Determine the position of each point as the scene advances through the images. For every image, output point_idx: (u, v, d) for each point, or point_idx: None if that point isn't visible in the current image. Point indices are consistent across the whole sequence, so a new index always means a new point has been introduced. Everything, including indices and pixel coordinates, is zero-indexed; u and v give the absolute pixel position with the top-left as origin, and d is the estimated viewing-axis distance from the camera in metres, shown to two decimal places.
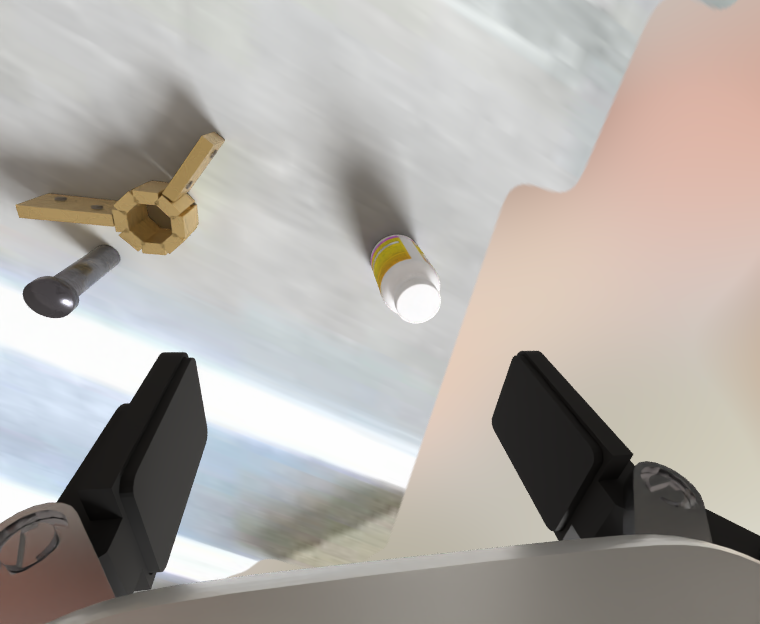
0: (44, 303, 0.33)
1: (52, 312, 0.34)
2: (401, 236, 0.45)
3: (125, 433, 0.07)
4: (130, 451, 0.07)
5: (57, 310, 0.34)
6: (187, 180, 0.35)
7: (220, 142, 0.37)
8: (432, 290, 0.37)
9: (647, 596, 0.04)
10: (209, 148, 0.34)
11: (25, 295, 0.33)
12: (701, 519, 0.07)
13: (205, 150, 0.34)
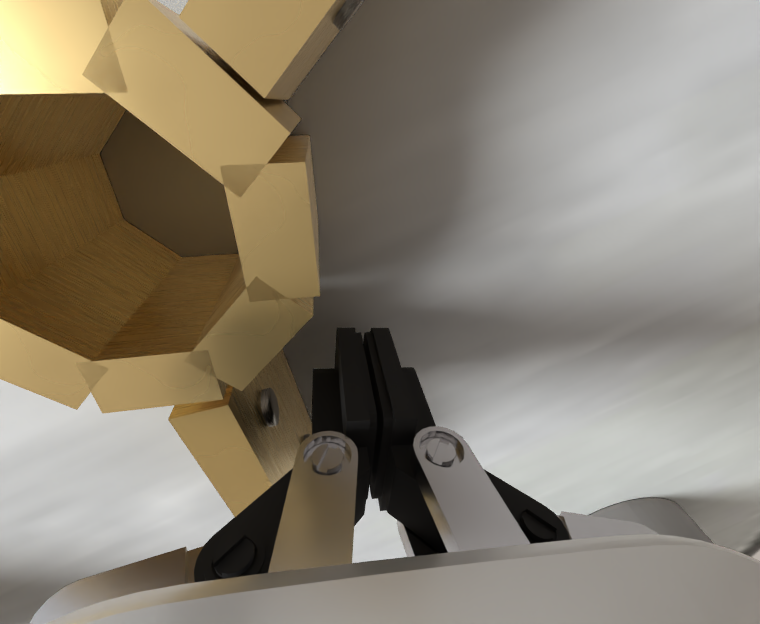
0: None
1: None
2: None
3: (353, 384, 0.09)
4: (366, 397, 0.08)
5: None
6: (225, 495, 0.09)
7: None
8: None
9: (647, 596, 0.04)
10: None
11: None
12: (474, 462, 0.07)
13: None
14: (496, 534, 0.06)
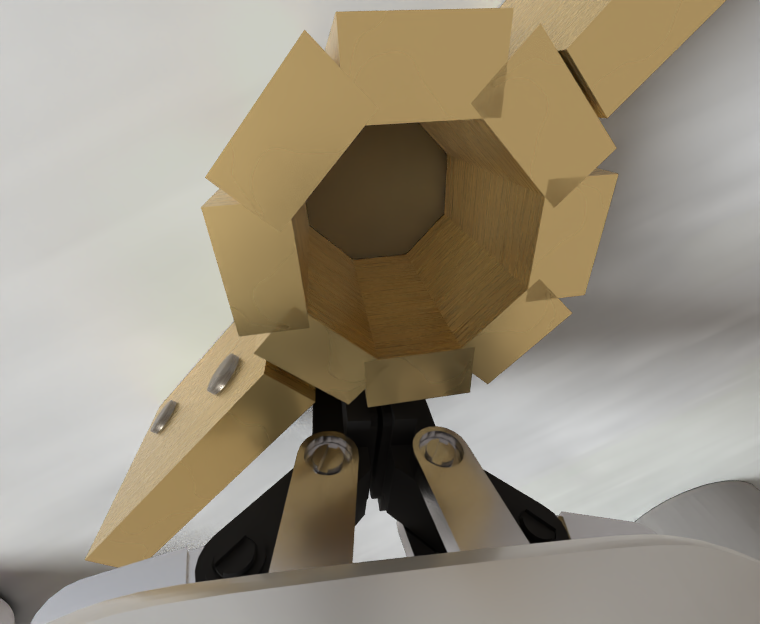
0: None
1: None
2: None
3: None
4: None
5: None
6: (190, 456, 0.07)
7: None
8: None
9: (647, 596, 0.04)
10: (100, 551, 0.09)
11: None
12: (473, 462, 0.07)
13: (116, 543, 0.09)
14: (496, 534, 0.06)
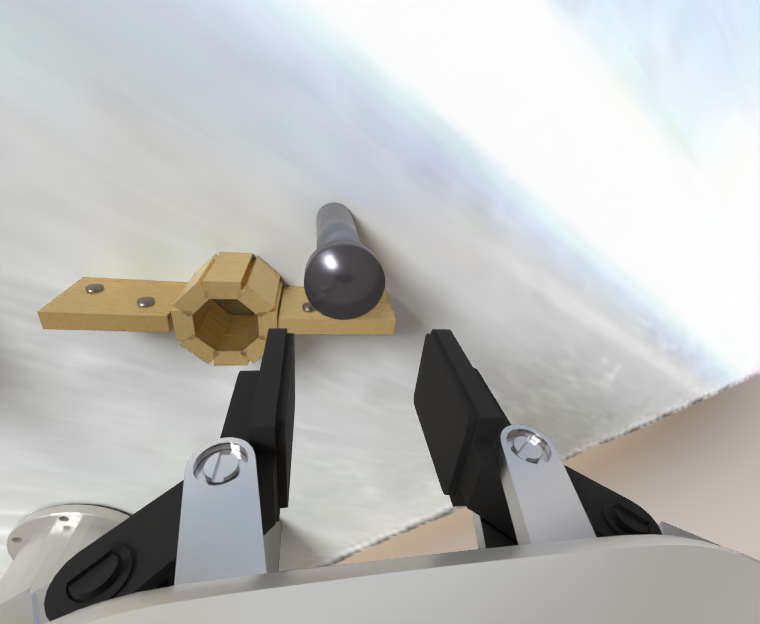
0: (354, 277, 0.17)
1: (346, 258, 0.17)
2: None
3: (267, 388, 0.08)
4: (277, 401, 0.08)
5: (336, 263, 0.17)
6: (120, 315, 0.23)
7: (66, 290, 0.24)
8: None
9: (647, 596, 0.04)
10: (47, 313, 0.22)
11: (379, 292, 0.18)
12: (559, 466, 0.08)
13: (56, 316, 0.22)
14: (568, 531, 0.06)
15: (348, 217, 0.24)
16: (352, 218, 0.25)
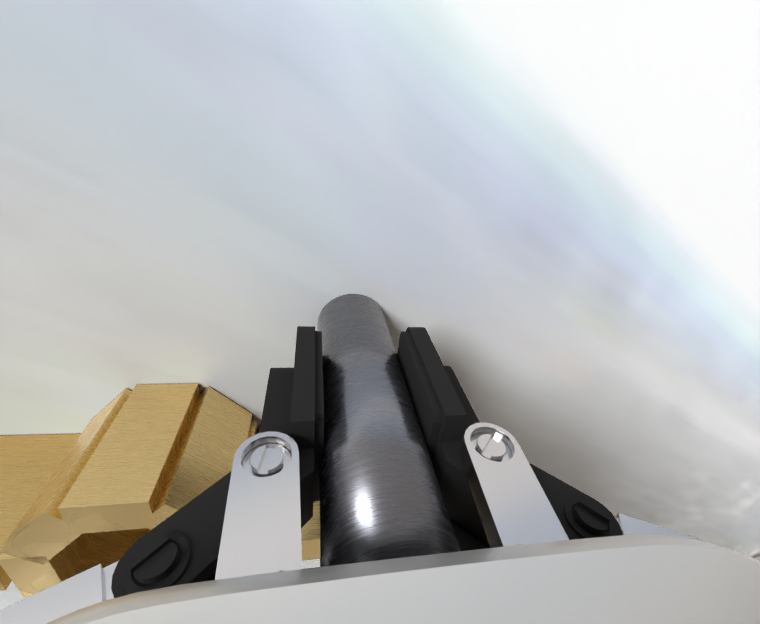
0: None
1: None
2: None
3: (303, 384, 0.09)
4: (314, 397, 0.08)
5: None
6: None
7: None
8: None
9: (647, 596, 0.04)
10: None
11: None
12: (523, 461, 0.08)
13: None
14: (537, 529, 0.06)
15: (385, 344, 0.11)
16: (388, 330, 0.13)
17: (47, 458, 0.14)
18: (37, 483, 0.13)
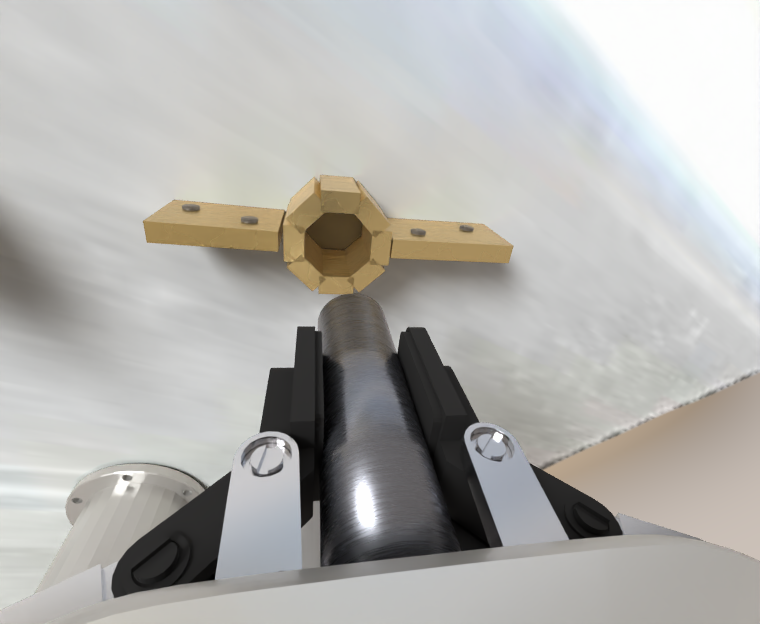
0: None
1: None
2: None
3: (303, 384, 0.09)
4: (314, 396, 0.08)
5: None
6: (229, 229, 0.21)
7: (163, 207, 0.22)
8: None
9: (647, 596, 0.04)
10: (153, 224, 0.20)
11: None
12: (523, 461, 0.08)
13: (162, 227, 0.20)
14: (537, 529, 0.06)
15: (385, 343, 0.11)
16: (388, 330, 0.13)
17: (272, 213, 0.24)
18: (275, 218, 0.23)
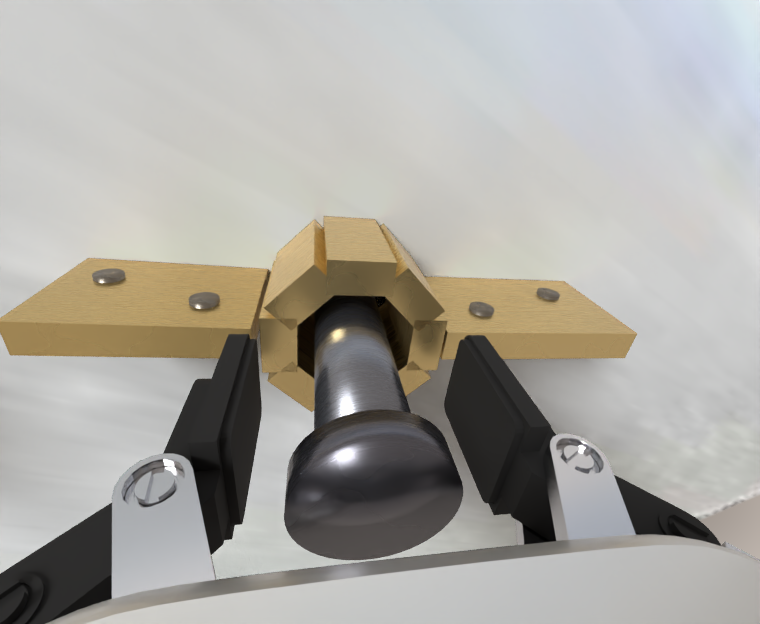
0: (397, 497, 0.08)
1: (383, 468, 0.07)
2: None
3: (216, 399, 0.08)
4: (224, 413, 0.07)
5: (358, 479, 0.07)
6: (162, 328, 0.11)
7: (57, 279, 0.13)
8: None
9: (647, 596, 0.04)
10: (17, 325, 0.11)
11: (448, 513, 0.08)
12: (611, 480, 0.07)
13: (36, 330, 0.11)
14: None
15: None
16: None
17: (247, 279, 0.15)
18: (250, 290, 0.14)
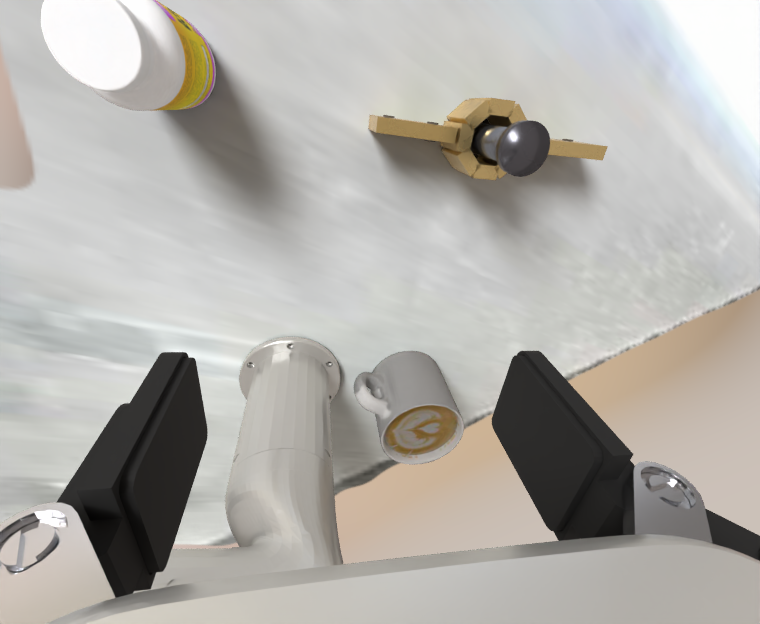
0: (532, 144, 0.27)
1: (531, 129, 0.27)
2: None
3: (125, 433, 0.07)
4: (130, 451, 0.07)
5: (524, 133, 0.27)
6: (428, 125, 0.31)
7: (373, 115, 0.32)
8: (78, 74, 0.20)
9: (647, 596, 0.04)
10: (383, 119, 0.30)
11: (544, 156, 0.28)
12: (701, 519, 0.07)
13: (388, 122, 0.30)
14: None
15: None
16: None
17: None
18: None
